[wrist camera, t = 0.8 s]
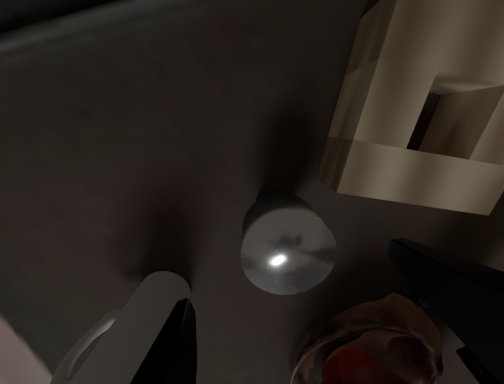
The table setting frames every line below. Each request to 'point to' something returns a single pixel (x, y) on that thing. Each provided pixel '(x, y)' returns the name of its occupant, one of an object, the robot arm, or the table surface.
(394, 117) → the hitch block
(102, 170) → the table surface
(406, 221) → the table surface
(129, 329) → the mug
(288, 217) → the pin
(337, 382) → the stew
